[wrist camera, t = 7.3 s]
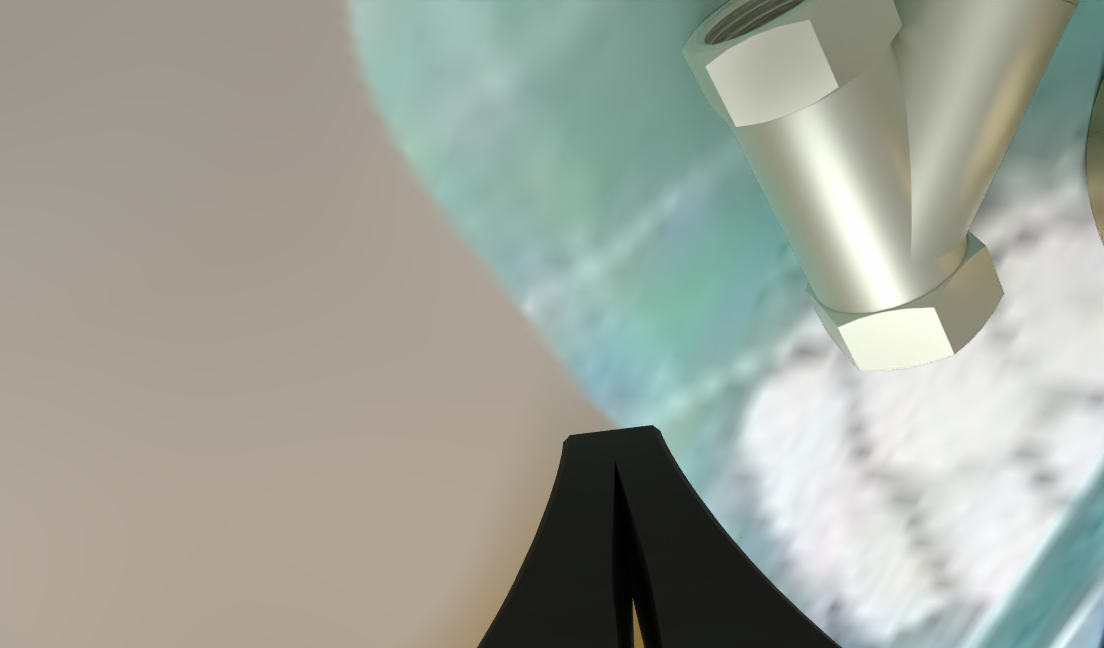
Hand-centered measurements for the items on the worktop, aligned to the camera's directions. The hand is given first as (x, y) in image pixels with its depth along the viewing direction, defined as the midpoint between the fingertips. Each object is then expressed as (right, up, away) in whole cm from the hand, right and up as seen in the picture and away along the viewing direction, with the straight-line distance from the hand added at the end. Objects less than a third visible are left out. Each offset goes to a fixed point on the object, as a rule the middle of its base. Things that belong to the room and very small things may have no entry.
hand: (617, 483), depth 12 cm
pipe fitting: (+7, +7, +6) cm, 12 cm away
